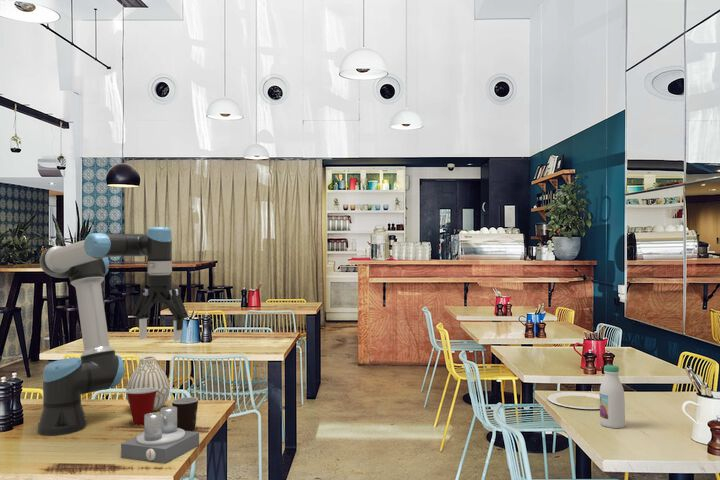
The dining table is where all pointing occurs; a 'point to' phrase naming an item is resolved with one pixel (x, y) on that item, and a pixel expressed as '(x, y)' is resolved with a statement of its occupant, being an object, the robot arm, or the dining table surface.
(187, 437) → the scale
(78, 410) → the robot arm
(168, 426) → the cylinder
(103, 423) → the dining table surface
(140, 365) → the vase
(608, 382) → the milk bottle
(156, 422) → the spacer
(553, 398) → the plate
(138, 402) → the plastic cup
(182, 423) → the coffee mug
